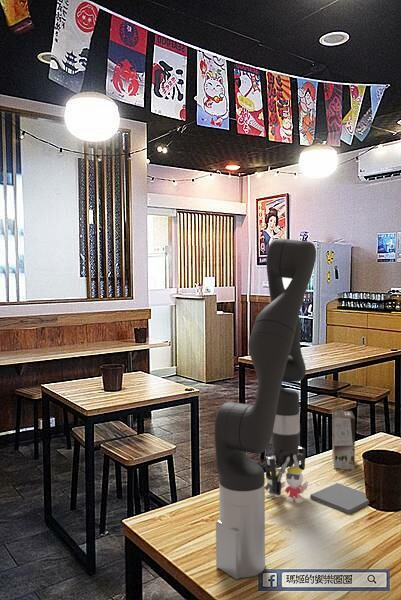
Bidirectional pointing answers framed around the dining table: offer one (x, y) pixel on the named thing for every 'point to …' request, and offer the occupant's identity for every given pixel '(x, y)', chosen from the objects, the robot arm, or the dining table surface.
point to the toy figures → (290, 484)
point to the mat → (341, 498)
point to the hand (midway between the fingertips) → (285, 490)
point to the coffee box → (343, 439)
